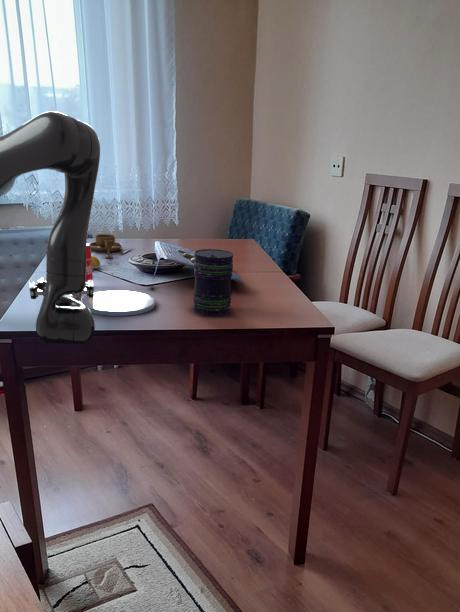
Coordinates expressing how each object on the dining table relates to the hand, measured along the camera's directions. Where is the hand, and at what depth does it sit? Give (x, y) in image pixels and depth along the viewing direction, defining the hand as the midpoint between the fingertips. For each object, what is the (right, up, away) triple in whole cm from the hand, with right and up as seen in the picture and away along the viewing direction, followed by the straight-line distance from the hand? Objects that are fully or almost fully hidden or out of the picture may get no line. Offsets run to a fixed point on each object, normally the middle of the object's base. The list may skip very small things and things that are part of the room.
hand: (61, 281), depth 132 cm
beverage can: (-2, +4, +26) cm, 27 cm away
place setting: (-7, +27, +70) cm, 75 cm away
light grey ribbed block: (+28, +13, +47) cm, 56 cm away
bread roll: (-6, +15, +47) cm, 50 cm away
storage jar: (+36, -5, +13) cm, 38 cm away
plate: (+11, -3, +13) cm, 18 cm away
